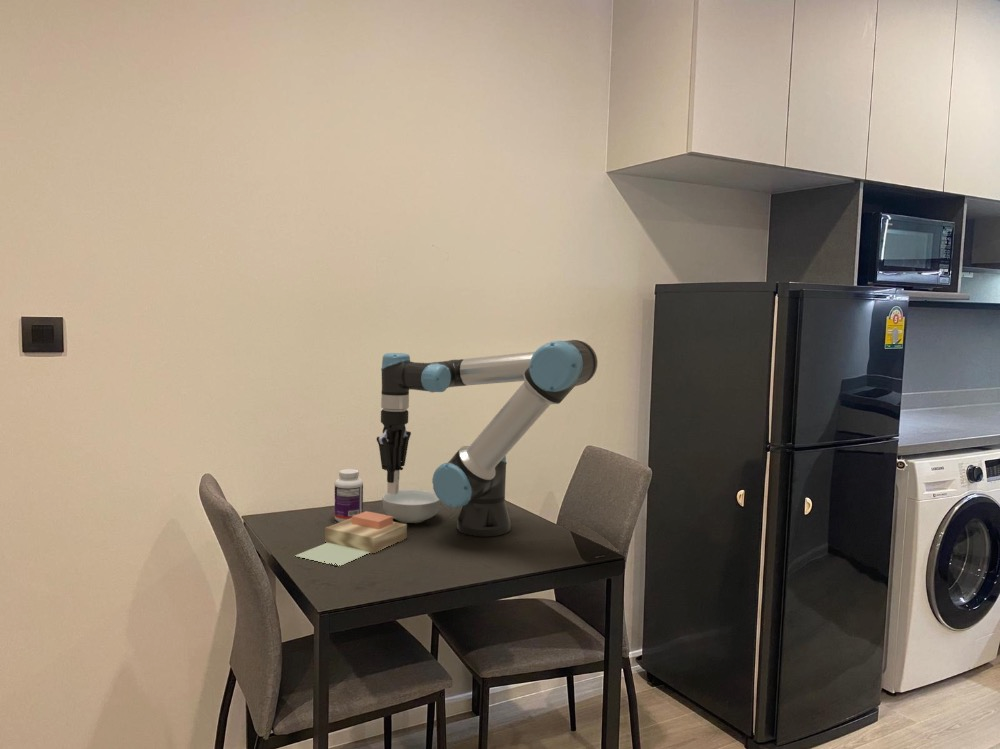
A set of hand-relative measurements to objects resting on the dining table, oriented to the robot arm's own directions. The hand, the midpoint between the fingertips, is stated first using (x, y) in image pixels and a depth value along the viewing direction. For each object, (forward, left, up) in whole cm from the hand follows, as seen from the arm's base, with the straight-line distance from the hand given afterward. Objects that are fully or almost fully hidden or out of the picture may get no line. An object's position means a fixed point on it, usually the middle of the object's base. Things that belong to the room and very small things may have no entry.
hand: (392, 493), depth 201 cm
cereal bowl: (+1, -10, -11) cm, 15 cm away
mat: (0, +25, -10) cm, 27 cm away
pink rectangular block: (0, +9, -6) cm, 11 cm away
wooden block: (0, +12, -10) cm, 16 cm away
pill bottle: (+16, 0, -10) cm, 19 cm away
